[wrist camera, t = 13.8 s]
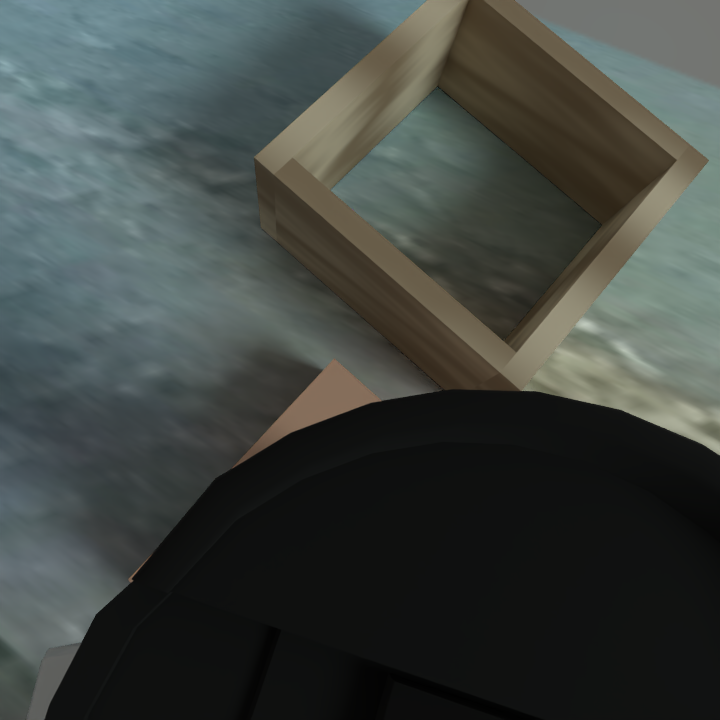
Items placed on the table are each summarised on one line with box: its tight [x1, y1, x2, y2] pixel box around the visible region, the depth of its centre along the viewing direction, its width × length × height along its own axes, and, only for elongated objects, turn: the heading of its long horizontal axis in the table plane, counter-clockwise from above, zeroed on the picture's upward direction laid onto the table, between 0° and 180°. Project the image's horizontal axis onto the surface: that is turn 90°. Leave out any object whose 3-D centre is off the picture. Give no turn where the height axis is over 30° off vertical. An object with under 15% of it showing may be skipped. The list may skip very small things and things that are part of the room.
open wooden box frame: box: [254, 0, 709, 391], centre depth 26 cm, size 13×13×6 cm
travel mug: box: [44, 389, 720, 720], centre depth 13 cm, size 6×7×20 cm
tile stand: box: [128, 359, 381, 582], centre depth 24 cm, size 11×11×3 cm
